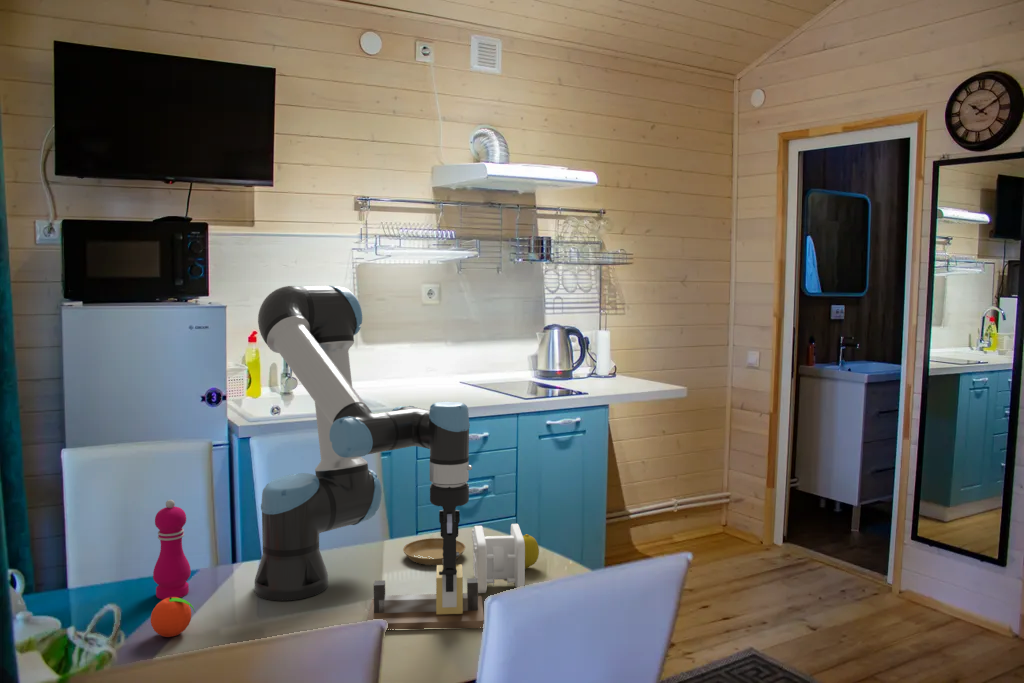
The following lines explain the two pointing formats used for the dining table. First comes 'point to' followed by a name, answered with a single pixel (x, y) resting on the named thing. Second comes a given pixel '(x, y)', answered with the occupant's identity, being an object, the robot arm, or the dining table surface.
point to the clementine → (171, 616)
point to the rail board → (430, 619)
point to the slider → (459, 593)
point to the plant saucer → (429, 550)
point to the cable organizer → (498, 557)
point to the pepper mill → (171, 553)
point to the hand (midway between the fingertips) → (449, 598)
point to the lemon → (530, 550)
